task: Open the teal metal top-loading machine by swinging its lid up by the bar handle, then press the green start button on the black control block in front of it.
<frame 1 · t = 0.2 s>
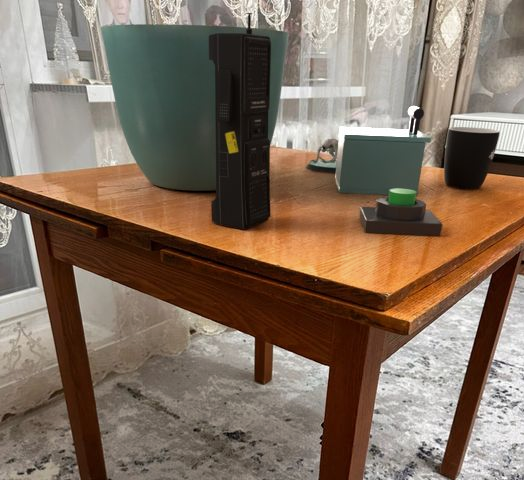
flower pot: (199, 183, 99), on the table
figurine: (330, 169, 117), on the table
machine: (373, 187, 100), on the table
mug: (461, 185, 105), on the table
portable radio: (240, 224, 75), on the table
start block: (397, 226, 76), on the table
machine lid: (384, 121, 94), point 11 cm above the table, hinge at 0.0°
start button: (402, 197, 74), point 4 cm above the table, slide at 0.2 cm
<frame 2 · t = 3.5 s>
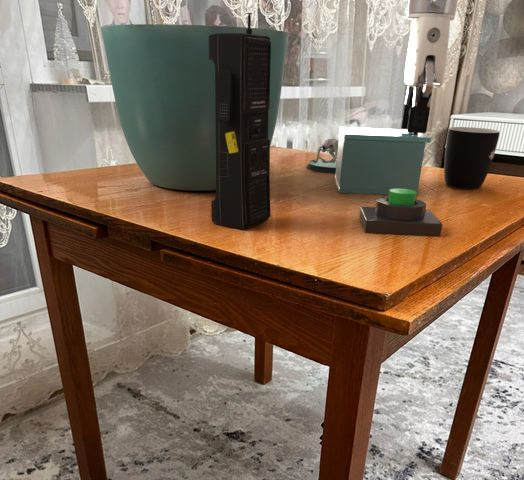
hand: (413, 129, 95), 10 cm above the table, tool pointing down, fingers closed on machine lid, 5 cm apart
machine lid: (384, 121, 94), point 11 cm above the table, hinge at 0.0°, touching gripper
everything else where it was.
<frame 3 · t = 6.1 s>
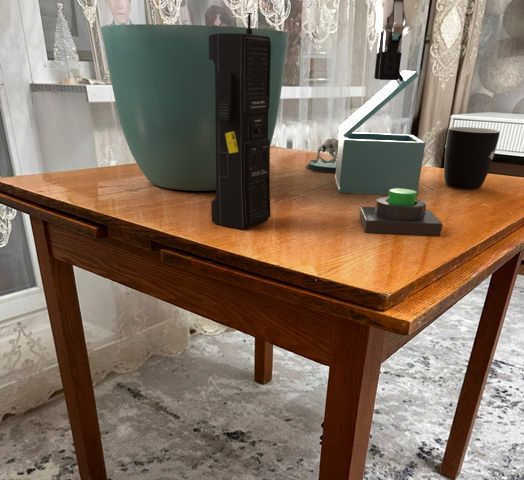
hand: (385, 78, 91), 18 cm above the table, tool pointing down, fingers closed on machine lid, 5 cm apart
machine lid: (368, 93, 92), point 16 cm above the table, hinge at 42.8°, touching gripper
everything else where it was.
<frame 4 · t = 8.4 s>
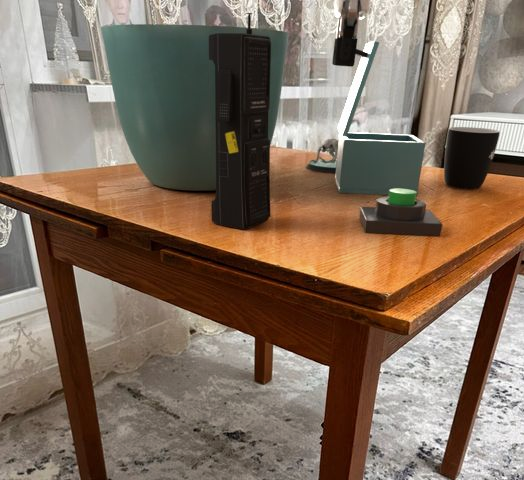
hand: (342, 64, 91), 20 cm above the table, tool pointing down, fingers closed on machine lid, 5 cm apart
machine lid: (344, 85, 92), point 17 cm above the table, hinge at 75.3°, touching gripper
everything else where it was.
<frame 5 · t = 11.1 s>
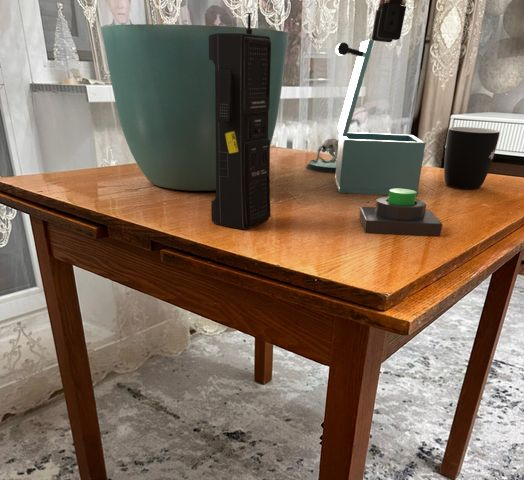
hand: (384, 40, 79), 23 cm above the table, tool pointing down, fingers open, 9 cm apart
machine lid: (342, 85, 92), point 17 cm above the table, hinge at 78.9°, touching gripper
everything else where it was.
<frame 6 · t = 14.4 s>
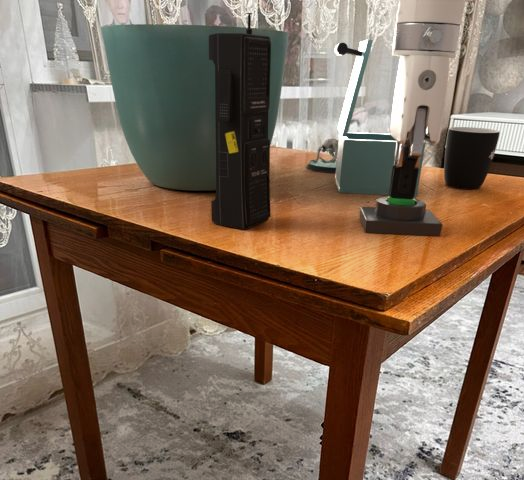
hand: (400, 197, 74), 4 cm above the table, tool pointing down, fingers closed
machine lid: (341, 85, 92), point 17 cm above the table, hinge at 79.5°
start button: (401, 203, 74), point 3 cm above the table, slide at -0.7 cm, touching gripper
everything else where it was.
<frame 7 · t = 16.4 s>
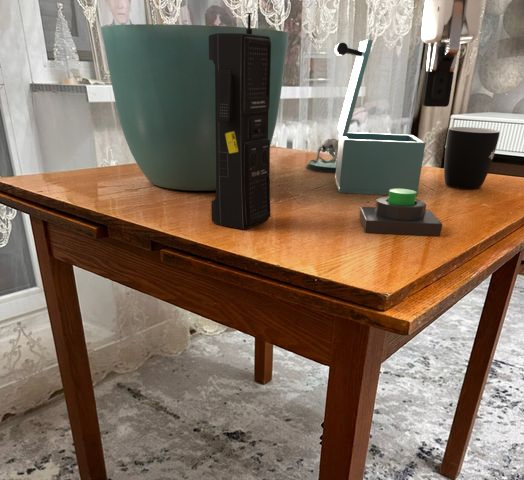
hand: (434, 105, 70), 15 cm above the table, tool pointing down, fingers closed
start button: (402, 197, 74), point 4 cm above the table, slide at 0.1 cm
everything else where it was.
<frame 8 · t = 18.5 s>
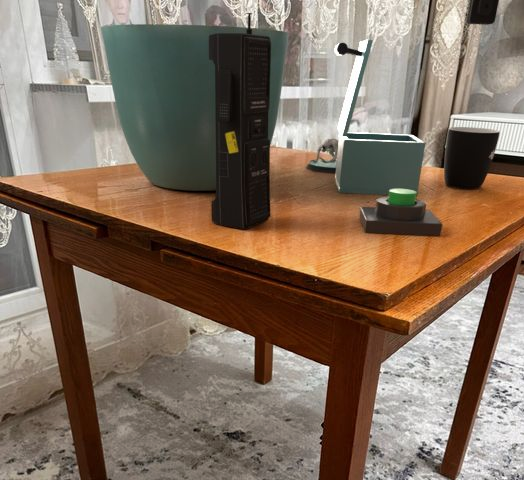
hand: (479, 23, 70), 25 cm above the table, tool pointing down, fingers closed
nothing on the table moved.
at the end: machine lid at +80° (first picture: +0°); start button pushed in 1.2 cm at the most during the clip, back to where it started at the end; start button slide at 0.1 cm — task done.
